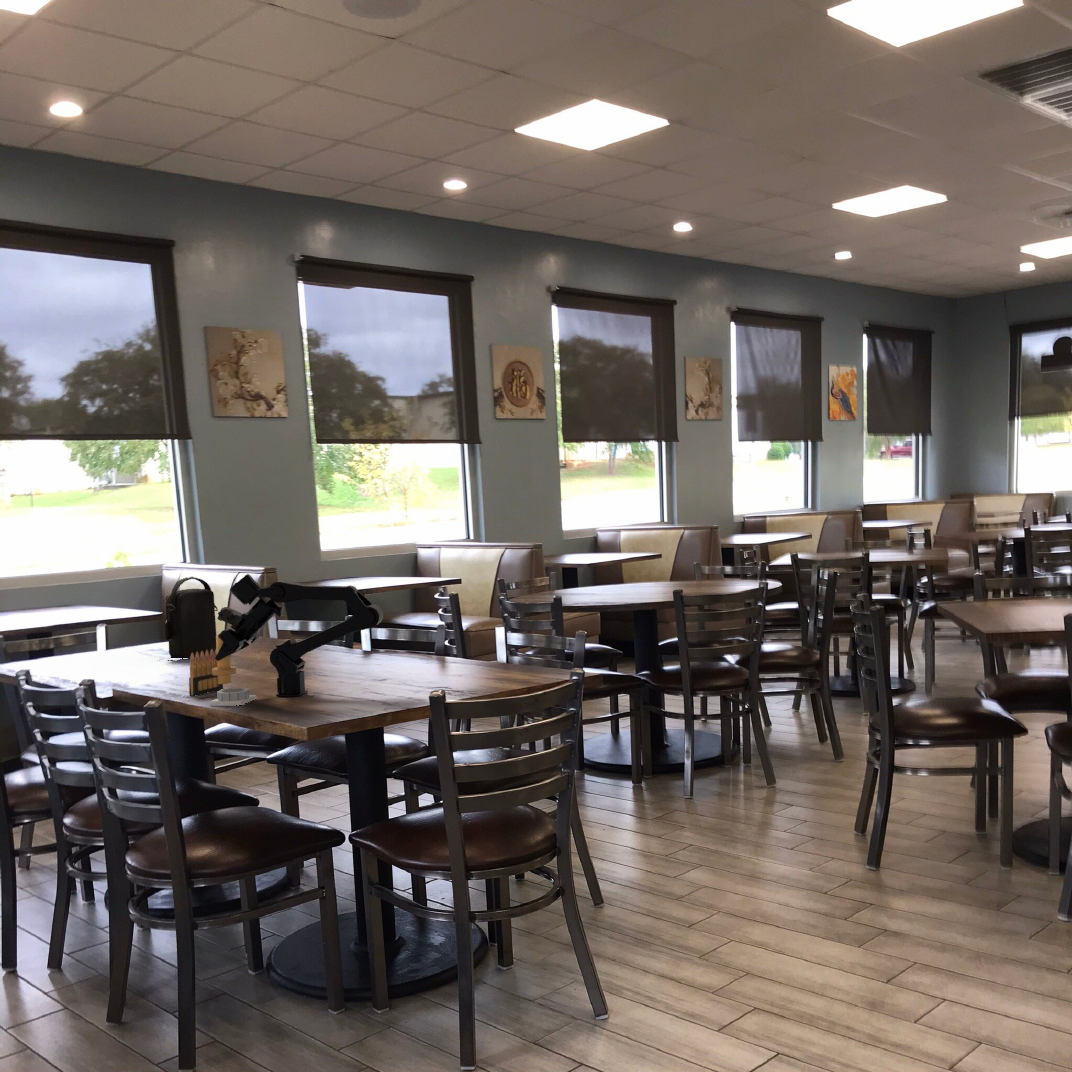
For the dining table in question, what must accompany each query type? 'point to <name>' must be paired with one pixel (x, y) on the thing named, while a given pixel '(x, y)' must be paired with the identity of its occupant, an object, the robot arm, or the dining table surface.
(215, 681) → the ammunition clip
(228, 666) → the tan peg
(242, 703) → the housing
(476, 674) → the dining table surface
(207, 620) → the shoulder bag
